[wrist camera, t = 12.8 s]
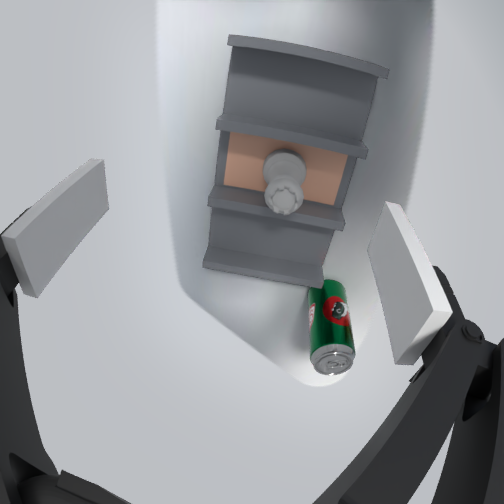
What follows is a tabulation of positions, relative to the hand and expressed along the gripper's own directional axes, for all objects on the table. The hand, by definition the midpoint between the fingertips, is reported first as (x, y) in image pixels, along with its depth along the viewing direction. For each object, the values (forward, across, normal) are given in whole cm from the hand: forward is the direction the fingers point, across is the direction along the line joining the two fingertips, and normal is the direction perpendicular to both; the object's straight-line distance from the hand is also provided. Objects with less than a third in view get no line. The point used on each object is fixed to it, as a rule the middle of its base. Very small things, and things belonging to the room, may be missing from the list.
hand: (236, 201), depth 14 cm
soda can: (+19, +11, -22) cm, 31 cm away
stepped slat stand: (+19, +3, -5) cm, 20 cm away
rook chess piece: (+19, +3, -5) cm, 20 cm away
